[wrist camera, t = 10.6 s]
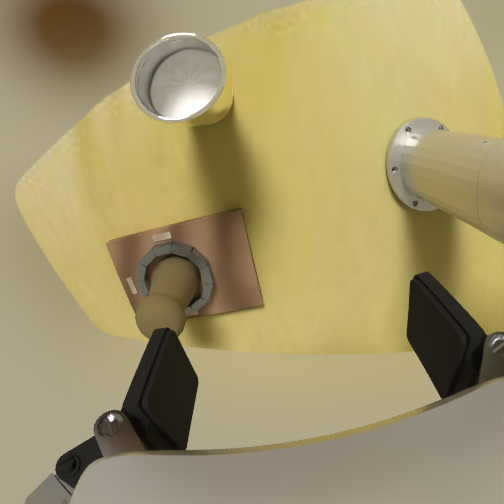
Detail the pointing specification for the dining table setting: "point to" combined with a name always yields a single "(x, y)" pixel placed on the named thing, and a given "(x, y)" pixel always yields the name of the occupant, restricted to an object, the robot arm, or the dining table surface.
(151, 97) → the beer glass
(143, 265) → the hub ring
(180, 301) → the cork
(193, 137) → the dining table surface
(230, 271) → the board
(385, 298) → the dining table surface
